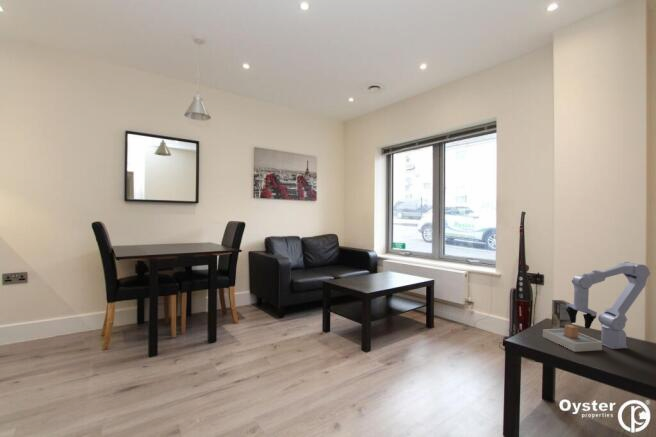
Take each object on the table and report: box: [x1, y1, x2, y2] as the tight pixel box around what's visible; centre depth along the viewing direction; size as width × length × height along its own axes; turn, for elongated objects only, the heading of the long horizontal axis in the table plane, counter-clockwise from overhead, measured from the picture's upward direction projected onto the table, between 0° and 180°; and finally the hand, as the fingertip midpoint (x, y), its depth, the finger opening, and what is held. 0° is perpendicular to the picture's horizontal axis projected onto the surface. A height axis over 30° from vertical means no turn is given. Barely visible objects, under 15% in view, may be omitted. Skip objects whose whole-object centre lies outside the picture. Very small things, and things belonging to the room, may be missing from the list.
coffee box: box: [551, 299, 573, 329], centre depth 178 cm, size 9×6×16 cm
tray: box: [542, 328, 603, 353], centre depth 160 cm, size 16×18×4 cm
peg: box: [564, 324, 579, 339], centre depth 160 cm, size 4×4×8 cm
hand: (580, 325), depth 159 cm, fingers open, 7 cm apart
